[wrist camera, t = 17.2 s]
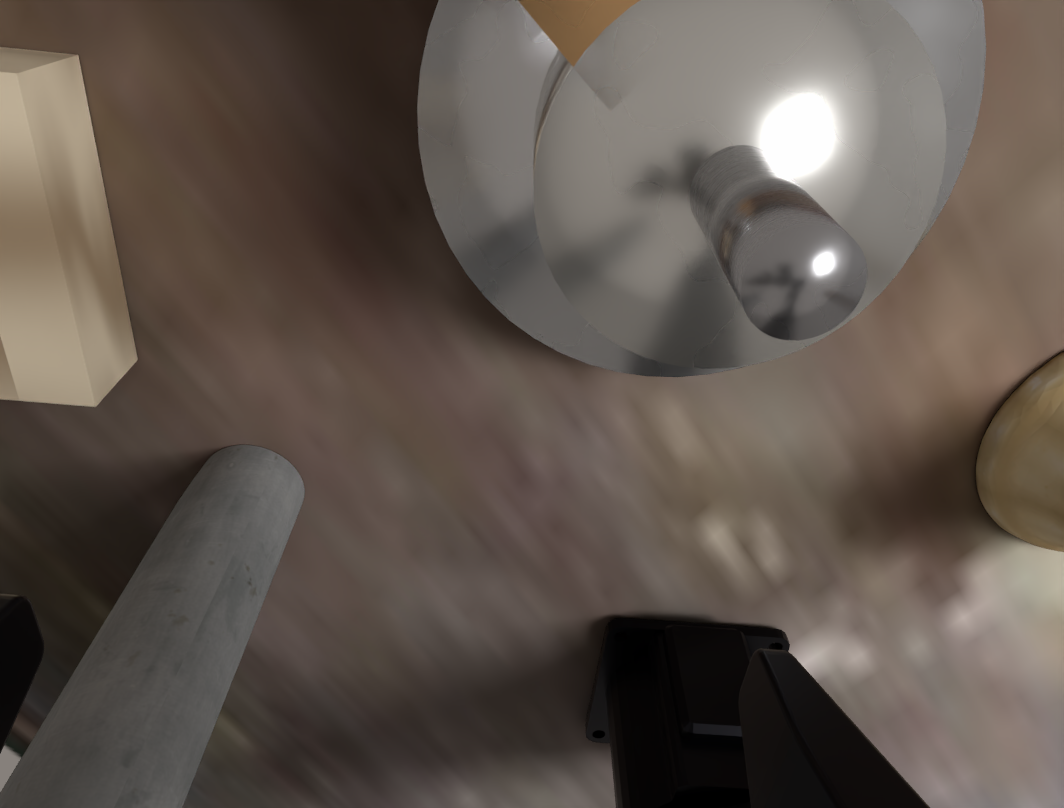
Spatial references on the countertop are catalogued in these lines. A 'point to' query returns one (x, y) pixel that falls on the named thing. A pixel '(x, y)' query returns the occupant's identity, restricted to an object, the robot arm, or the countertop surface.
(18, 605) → the robot arm
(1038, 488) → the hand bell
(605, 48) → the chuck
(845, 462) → the countertop surface
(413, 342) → the countertop surface
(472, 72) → the base
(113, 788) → the hip flask
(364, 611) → the countertop surface
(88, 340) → the socket
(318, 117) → the countertop surface
